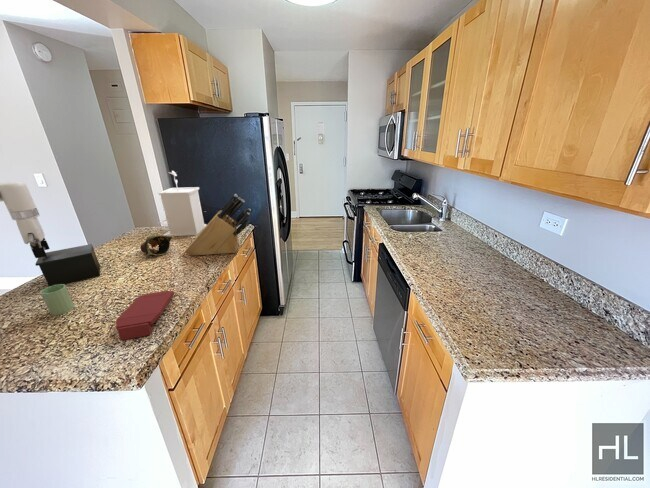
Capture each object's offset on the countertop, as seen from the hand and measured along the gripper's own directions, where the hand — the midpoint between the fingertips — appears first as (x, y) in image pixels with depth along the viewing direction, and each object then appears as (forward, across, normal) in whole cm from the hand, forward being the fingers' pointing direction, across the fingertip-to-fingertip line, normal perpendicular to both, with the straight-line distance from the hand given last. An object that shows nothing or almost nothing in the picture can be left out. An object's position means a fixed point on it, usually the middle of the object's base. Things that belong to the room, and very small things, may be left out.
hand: (43, 253), depth 110 cm
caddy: (+14, 0, +7) cm, 15 cm away
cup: (+14, +31, +4) cm, 34 cm away
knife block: (+14, +14, +69) cm, 72 cm away
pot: (+14, -6, +40) cm, 43 cm away
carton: (+14, +54, +28) cm, 62 cm away
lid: (+3, 0, +7) cm, 7 cm away
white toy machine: (+14, -39, +63) cm, 75 cm away
